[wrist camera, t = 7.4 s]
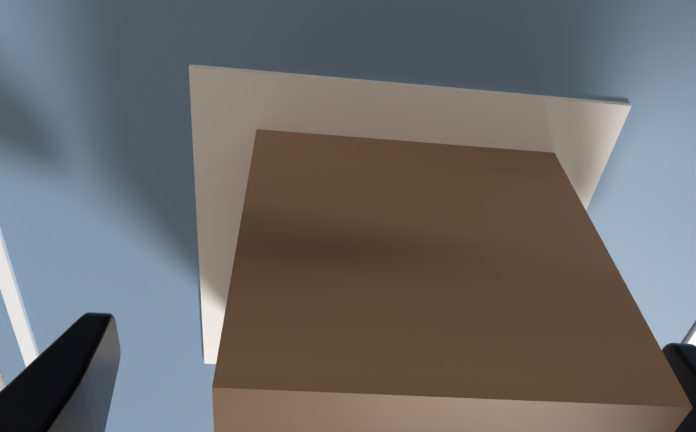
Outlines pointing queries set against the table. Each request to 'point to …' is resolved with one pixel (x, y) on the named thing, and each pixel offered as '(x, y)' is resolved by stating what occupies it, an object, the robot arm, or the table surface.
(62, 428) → the robot arm
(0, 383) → the table surface
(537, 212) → the walnut block
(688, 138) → the board
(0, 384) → the table surface
